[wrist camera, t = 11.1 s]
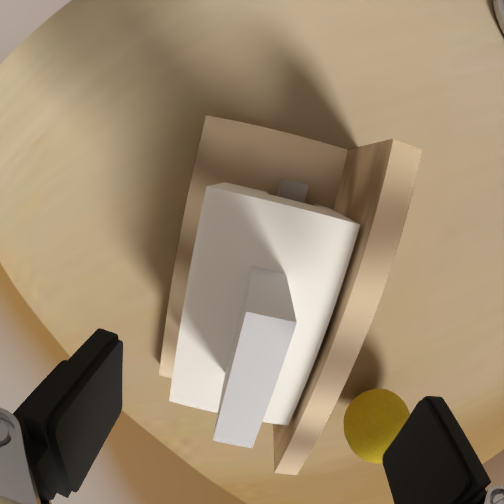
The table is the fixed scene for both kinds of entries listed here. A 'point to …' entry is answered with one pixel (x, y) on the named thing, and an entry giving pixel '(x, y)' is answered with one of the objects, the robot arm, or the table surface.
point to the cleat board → (313, 192)
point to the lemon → (374, 423)
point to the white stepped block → (257, 306)
